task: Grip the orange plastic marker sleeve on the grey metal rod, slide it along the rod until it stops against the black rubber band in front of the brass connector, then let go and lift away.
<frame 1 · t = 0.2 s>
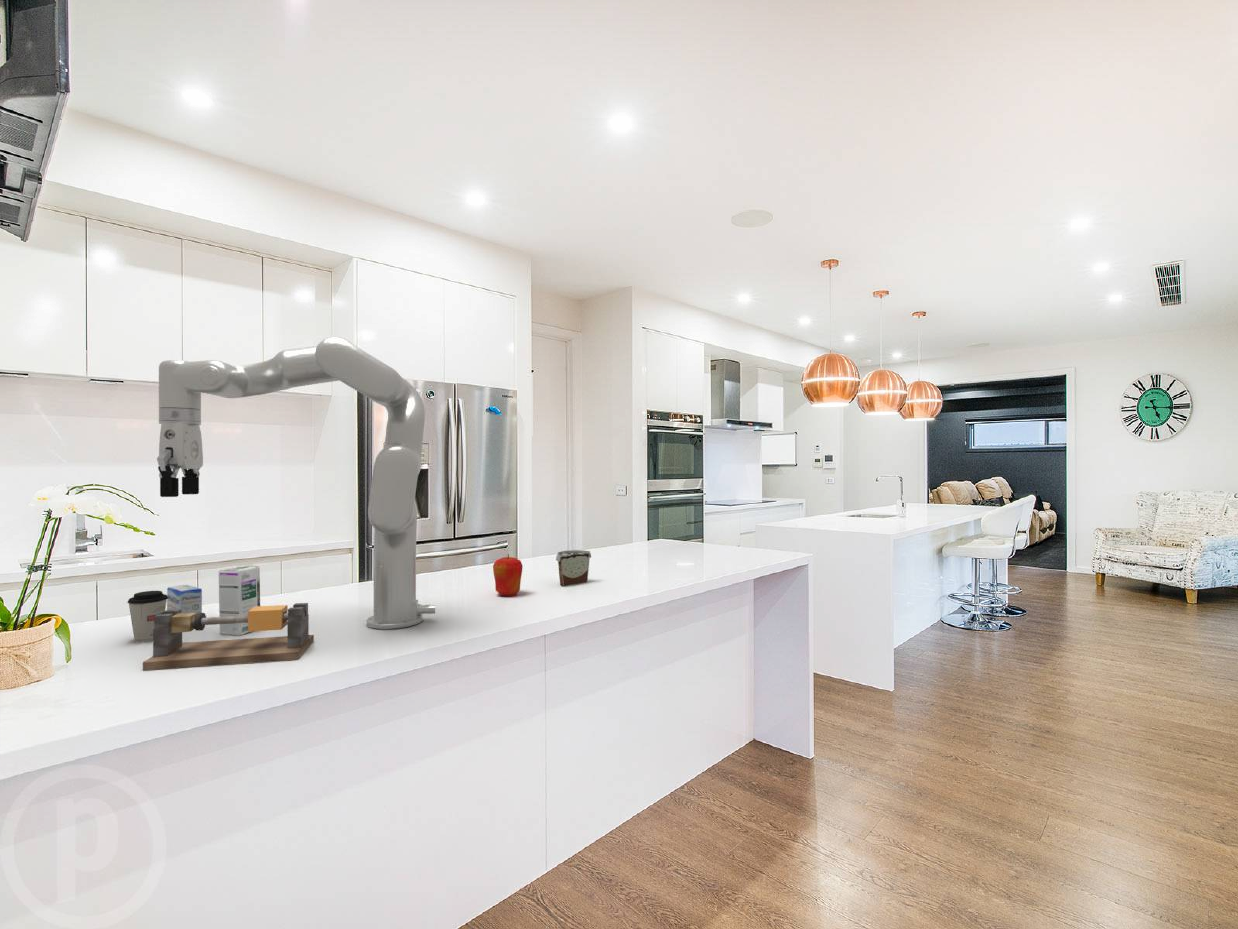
hand: (180, 495, 133), 31 cm above the countertop, tool pointing down, fingers open, 9 cm apart
medicine box: (184, 625, 142), on the countertop
food container: (569, 584, 190), on the countertop
apple: (507, 595, 174), on the countertop
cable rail: (234, 655, 120), on the countertop
sleeve: (268, 618, 121), point 7 cm above the countertop, slide at 0.0 cm
black-capped travel mug: (148, 640, 130), on the countertop
syrup box: (240, 632, 136), on the countertop
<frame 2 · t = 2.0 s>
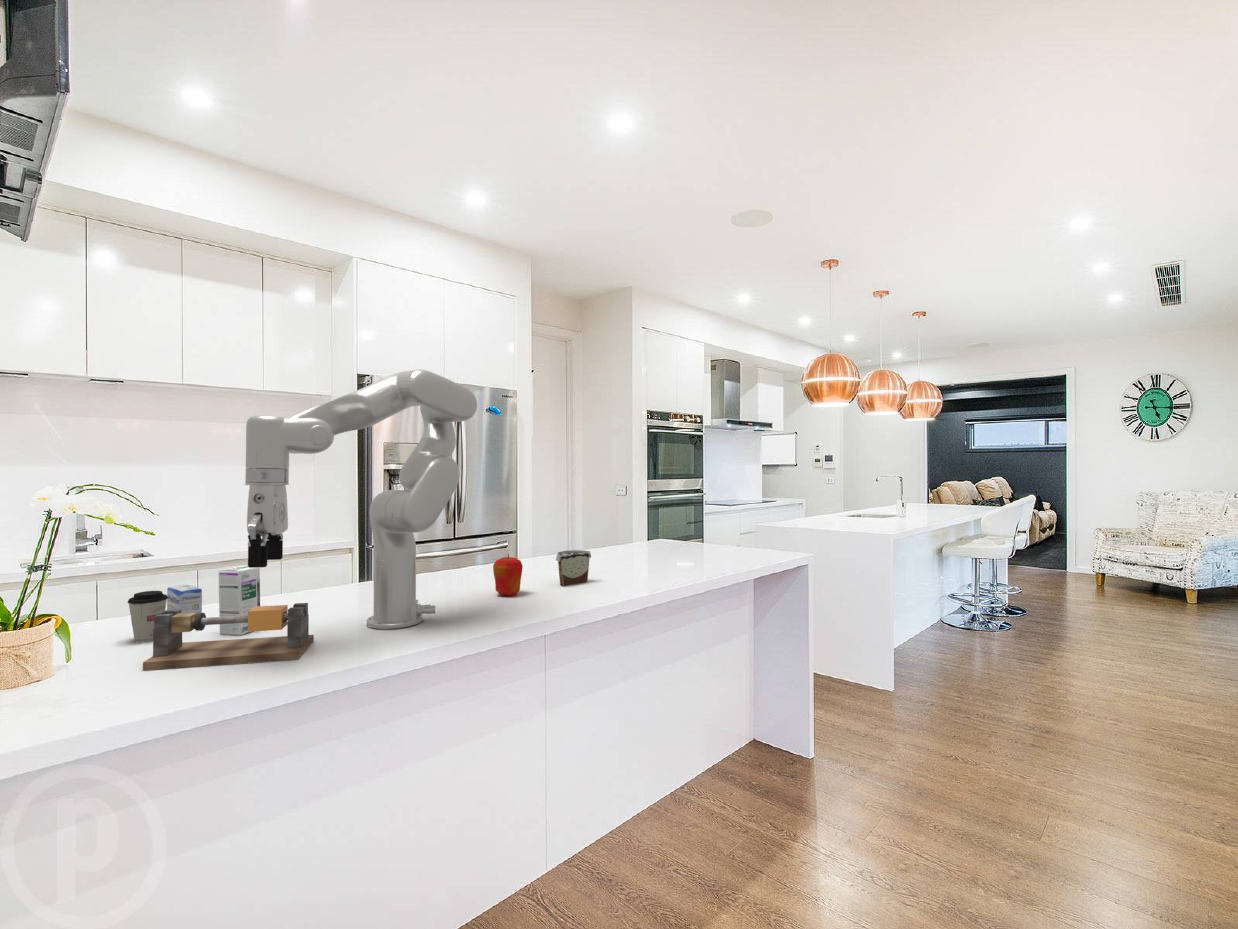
hand: (265, 563, 121), 18 cm above the countertop, tool pointing down, fingers open, 9 cm apart
nothing on the countertop moved.
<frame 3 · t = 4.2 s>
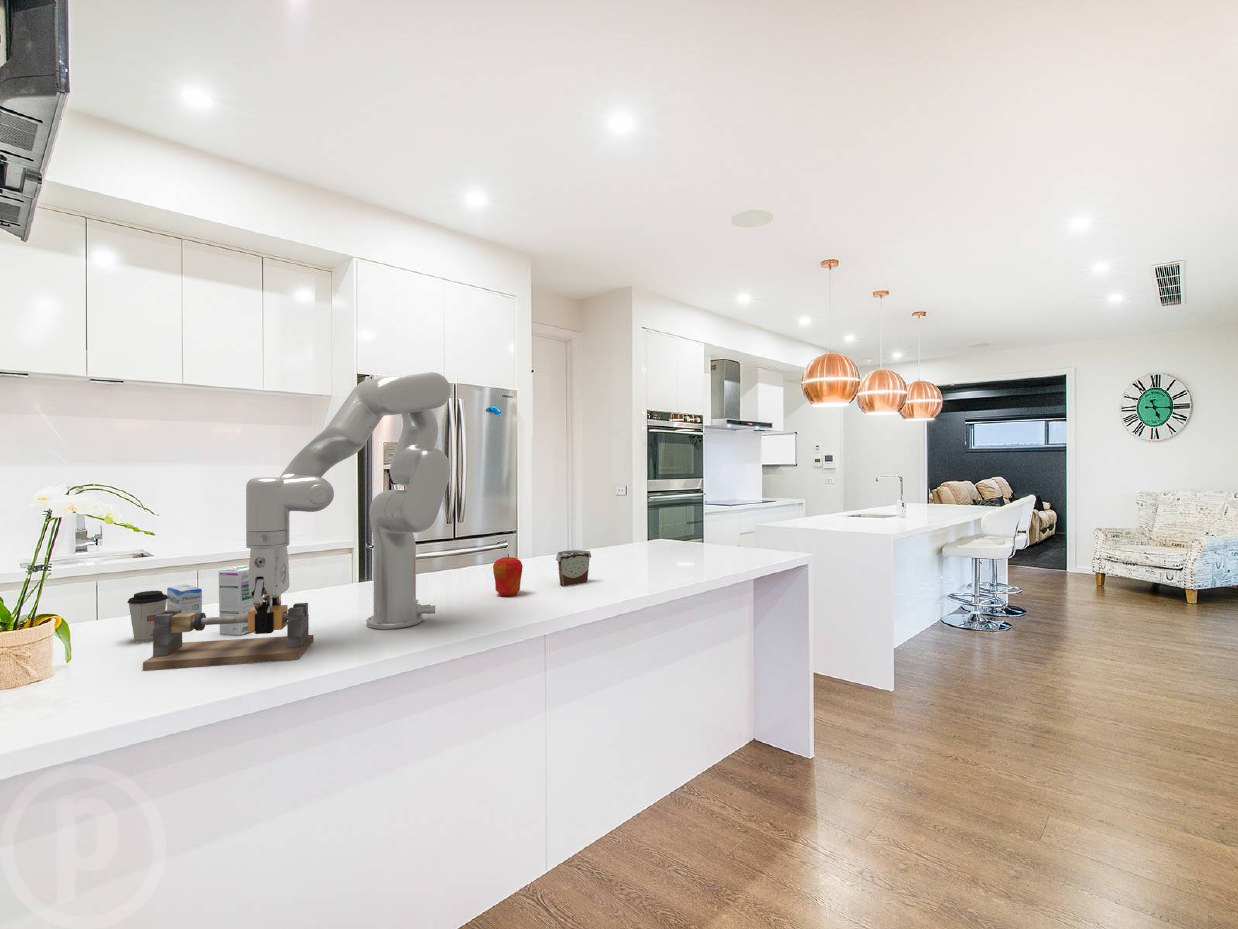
hand: (268, 629, 121), 5 cm above the countertop, tool pointing down, fingers closed on sleeve, 4 cm apart
sleeve: (268, 618, 121), point 7 cm above the countertop, slide at 0.0 cm, touching gripper
everything else where it was.
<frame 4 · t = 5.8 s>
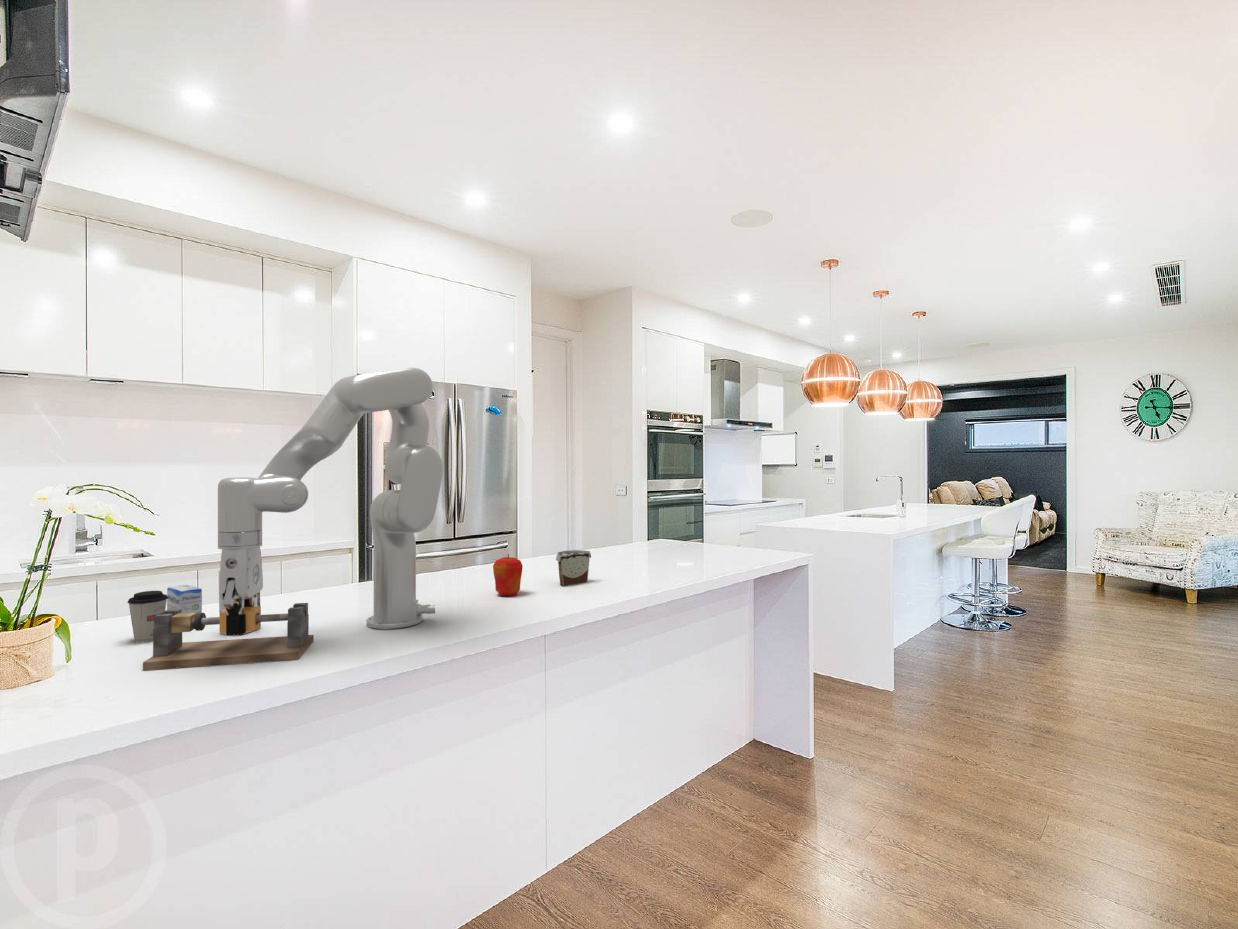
hand: (240, 630, 120), 5 cm above the countertop, tool pointing down, fingers closed on sleeve, 4 cm apart
sleeve: (240, 619, 120), point 7 cm above the countertop, slide at 5.0 cm, touching gripper
everything else where it was.
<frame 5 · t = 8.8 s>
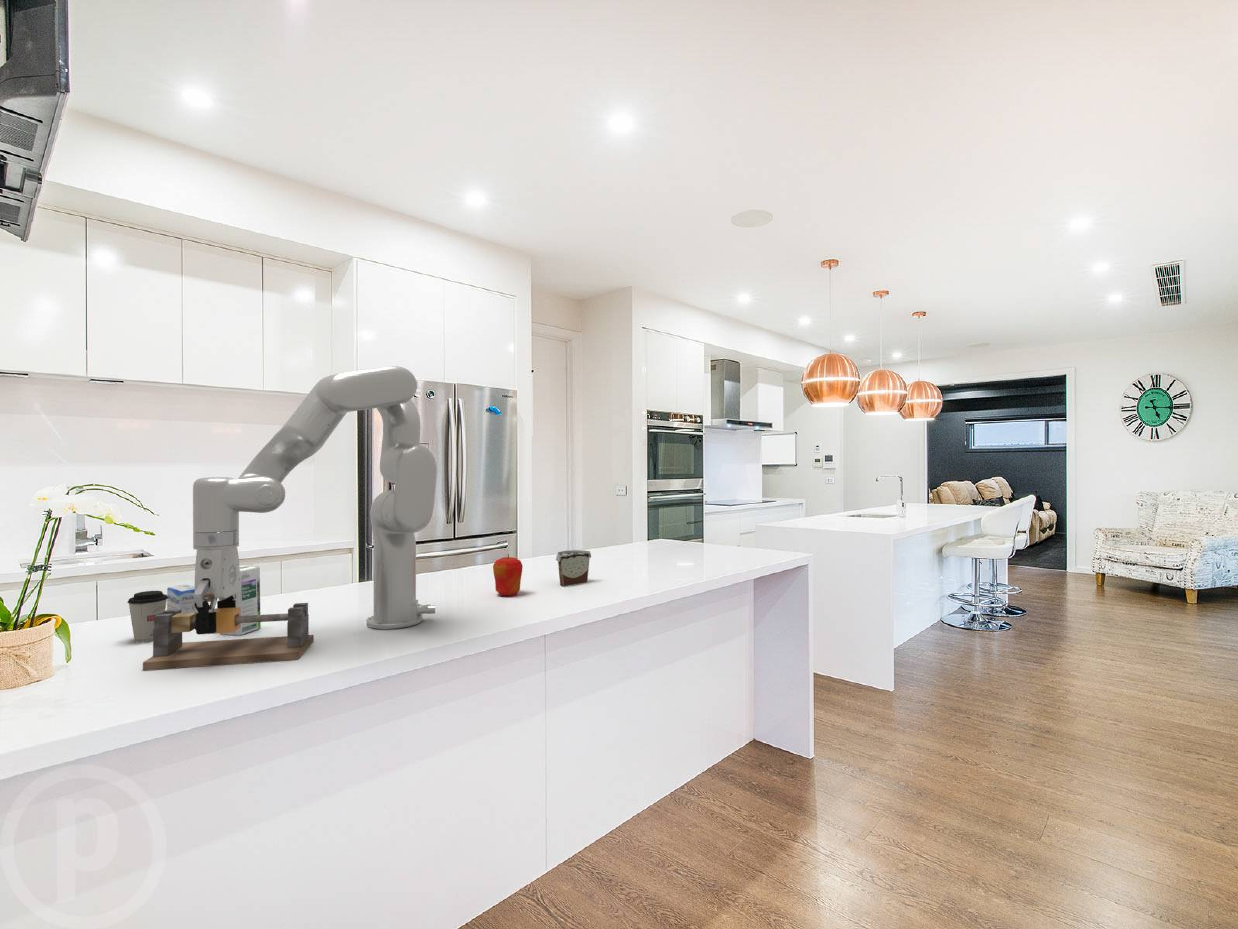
hand: (216, 626, 119), 6 cm above the countertop, tool pointing down, fingers open, 9 cm apart
sleeve: (219, 620, 119), point 7 cm above the countertop, slide at 8.6 cm, touching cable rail
everything else where it was.
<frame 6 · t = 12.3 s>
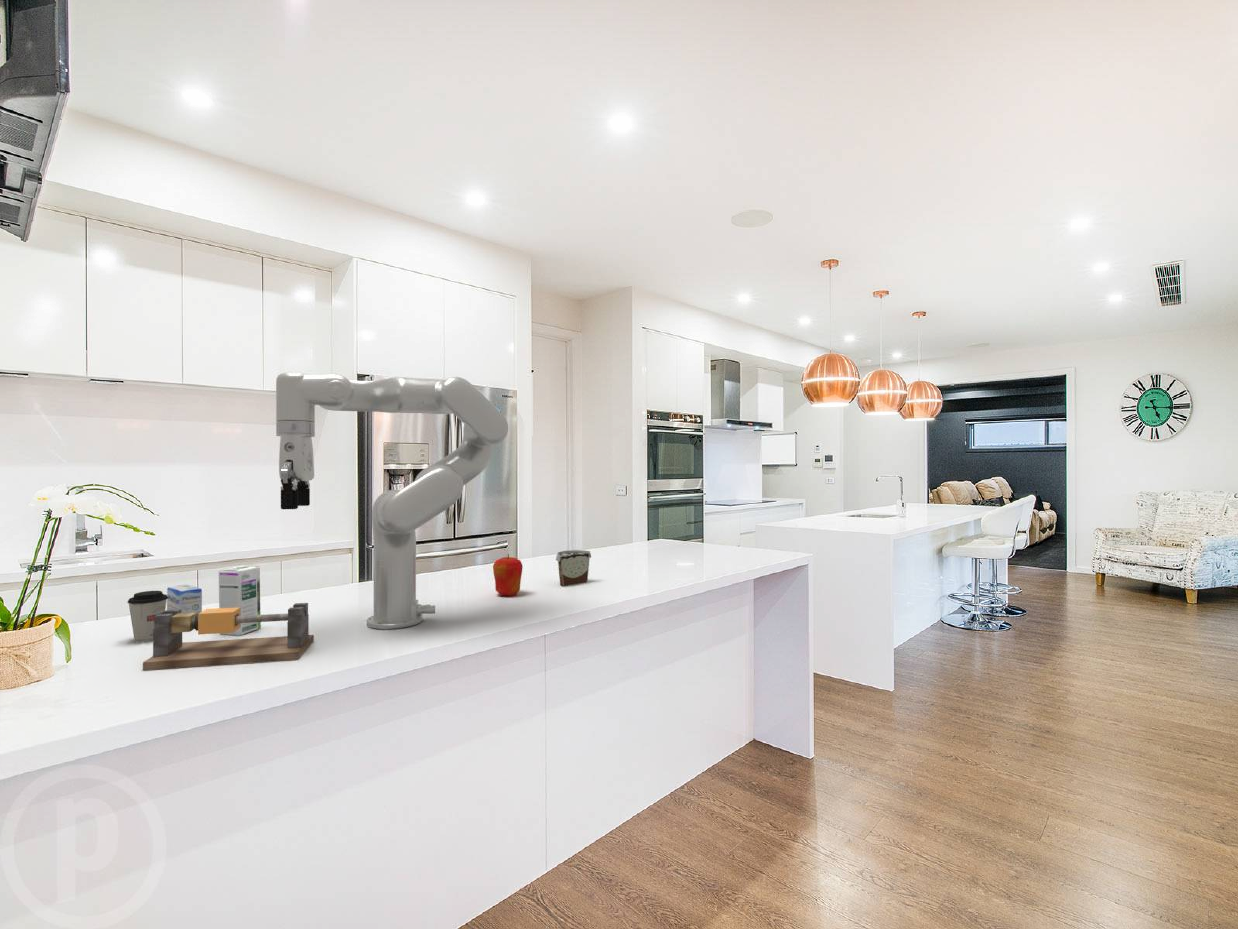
hand: (295, 507, 133), 28 cm above the countertop, tool pointing down, fingers open, 9 cm apart
nothing on the countertop moved.
at the end: sleeve slide at 8.6 cm; the gripper is holding nothing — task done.
